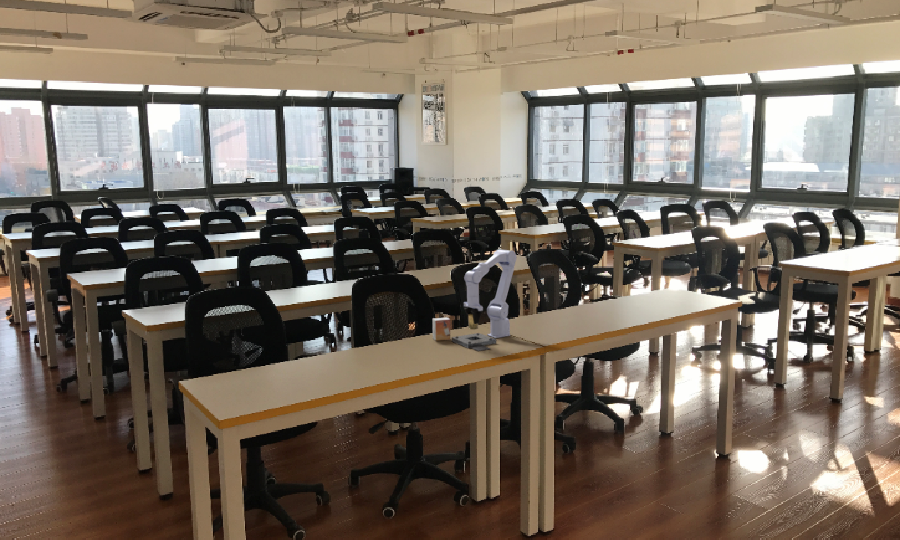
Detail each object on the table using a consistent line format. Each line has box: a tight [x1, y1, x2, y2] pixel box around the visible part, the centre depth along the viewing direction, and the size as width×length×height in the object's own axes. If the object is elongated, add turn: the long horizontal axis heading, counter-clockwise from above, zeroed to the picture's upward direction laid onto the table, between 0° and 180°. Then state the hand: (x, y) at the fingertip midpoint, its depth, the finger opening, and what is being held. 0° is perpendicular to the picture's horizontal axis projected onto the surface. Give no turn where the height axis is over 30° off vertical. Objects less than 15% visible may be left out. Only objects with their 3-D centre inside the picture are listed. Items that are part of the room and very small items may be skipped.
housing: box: [451, 332, 497, 349], centre depth 350 cm, size 16×16×2 cm
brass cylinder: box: [468, 314, 479, 330], centre depth 349 cm, size 5×5×7 cm
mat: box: [469, 345, 492, 352], centre depth 338 cm, size 7×7×1 cm
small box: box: [432, 316, 452, 342], centre depth 357 cm, size 8×6×10 cm
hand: (473, 322), depth 349 cm, fingers closed on brass cylinder, 5 cm apart
